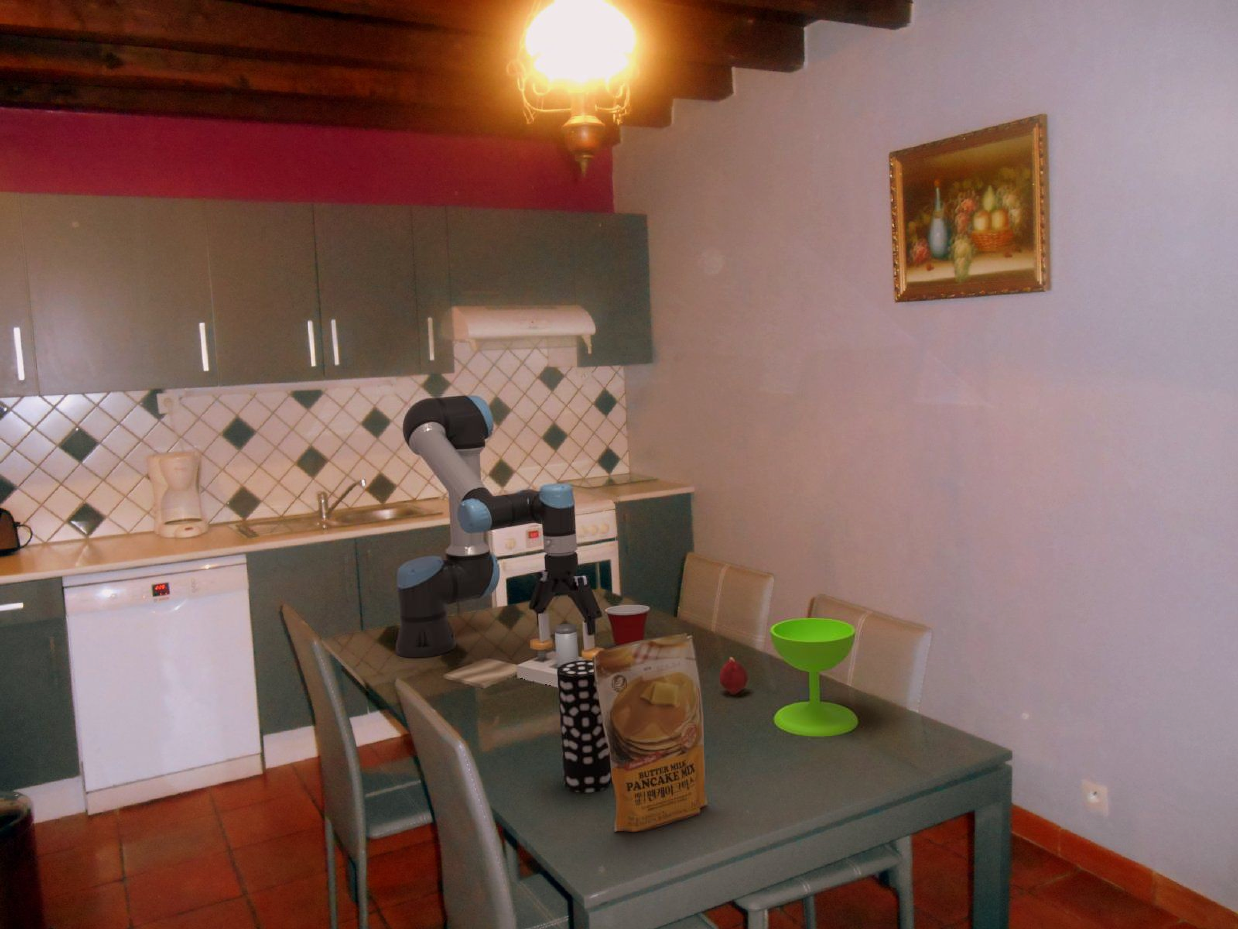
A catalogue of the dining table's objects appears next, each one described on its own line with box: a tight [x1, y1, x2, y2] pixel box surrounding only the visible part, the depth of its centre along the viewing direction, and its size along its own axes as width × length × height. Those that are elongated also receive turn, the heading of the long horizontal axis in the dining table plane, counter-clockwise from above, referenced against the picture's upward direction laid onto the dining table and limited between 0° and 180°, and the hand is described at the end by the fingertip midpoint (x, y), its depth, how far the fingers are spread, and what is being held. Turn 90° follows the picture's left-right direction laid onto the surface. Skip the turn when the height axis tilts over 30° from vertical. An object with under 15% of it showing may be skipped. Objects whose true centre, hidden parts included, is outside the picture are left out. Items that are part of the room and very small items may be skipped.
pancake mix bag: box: [592, 631, 708, 833], centre depth 144 cm, size 7×19×28 cm, turn 116°
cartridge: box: [554, 623, 579, 668], centre depth 213 cm, size 5×5×12 cm
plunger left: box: [529, 637, 554, 660], centre depth 218 cm, size 5×5×4 cm
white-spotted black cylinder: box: [557, 660, 613, 794], centre depth 158 cm, size 8×8×20 cm
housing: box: [516, 650, 584, 688], centre depth 213 cm, size 21×12×3 cm, turn 51°
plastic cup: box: [604, 604, 651, 647], centre depth 227 cm, size 11×11×12 cm
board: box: [442, 657, 518, 689], centre depth 219 cm, size 14×14×1 cm
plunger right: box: [581, 646, 605, 660], centre depth 208 cm, size 5×5×4 cm
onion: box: [718, 656, 748, 696], centre depth 196 cm, size 6×6×8 cm
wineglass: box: [769, 617, 859, 738], centre depth 180 cm, size 16×16×18 cm
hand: (566, 644), depth 212 cm, fingers open, 13 cm apart
